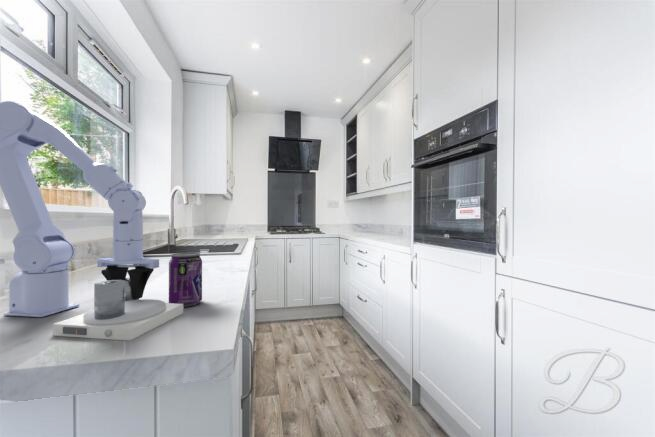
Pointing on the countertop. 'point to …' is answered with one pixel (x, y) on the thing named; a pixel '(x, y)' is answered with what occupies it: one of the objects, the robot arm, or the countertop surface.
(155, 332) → the countertop surface
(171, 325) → the countertop surface
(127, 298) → the steel spacer
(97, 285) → the steel spacer
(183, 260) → the beverage can
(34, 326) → the countertop surface
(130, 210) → the robot arm
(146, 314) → the kitchen scale
